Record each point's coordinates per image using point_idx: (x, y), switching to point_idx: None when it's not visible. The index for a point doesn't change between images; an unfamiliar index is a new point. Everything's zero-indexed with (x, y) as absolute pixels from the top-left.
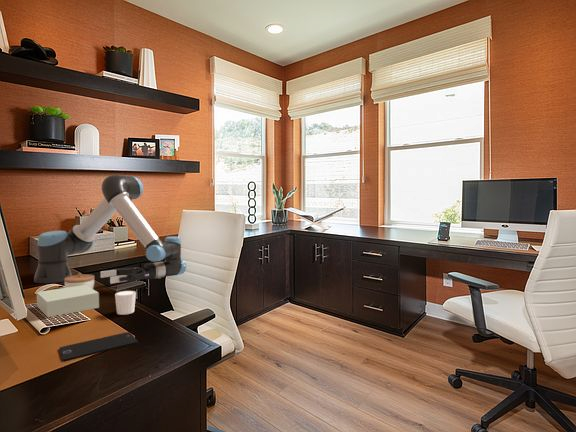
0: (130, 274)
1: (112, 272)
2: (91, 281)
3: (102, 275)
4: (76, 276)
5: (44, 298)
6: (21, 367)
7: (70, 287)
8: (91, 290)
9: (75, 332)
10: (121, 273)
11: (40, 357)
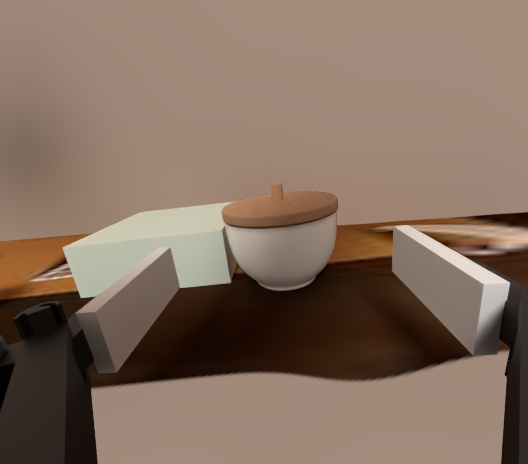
0: (58, 353)
1: (444, 284)
2: (232, 232)
3: (398, 259)
4: (292, 196)
5: (170, 209)
6: (20, 243)
7: (220, 218)
8: (117, 239)
9: (18, 265)
10: (511, 390)
11: (14, 248)
